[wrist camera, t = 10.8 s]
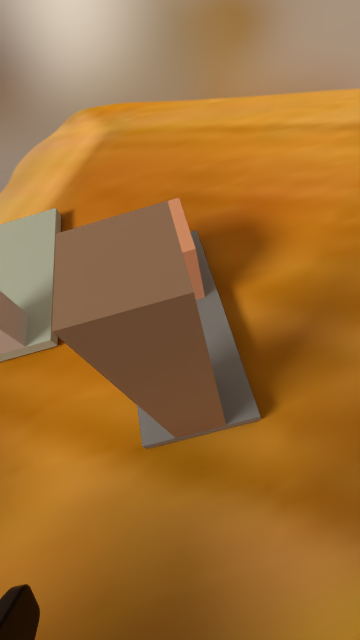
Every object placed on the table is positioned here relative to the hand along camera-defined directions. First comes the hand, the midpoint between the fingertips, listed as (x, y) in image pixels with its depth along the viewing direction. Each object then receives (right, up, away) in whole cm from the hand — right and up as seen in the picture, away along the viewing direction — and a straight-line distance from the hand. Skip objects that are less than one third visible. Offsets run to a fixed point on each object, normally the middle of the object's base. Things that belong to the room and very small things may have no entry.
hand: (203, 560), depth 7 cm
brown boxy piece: (-1, +6, +15) cm, 16 cm away
